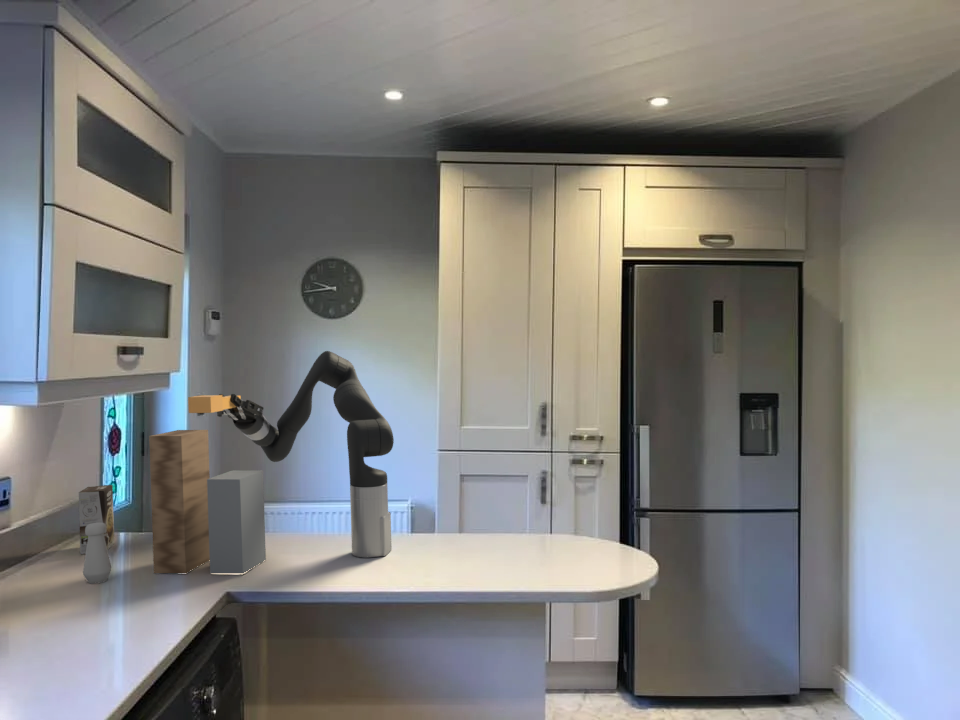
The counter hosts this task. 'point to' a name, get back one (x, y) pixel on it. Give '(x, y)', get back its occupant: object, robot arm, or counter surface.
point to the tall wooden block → (179, 500)
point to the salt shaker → (96, 554)
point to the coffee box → (96, 512)
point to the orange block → (209, 403)
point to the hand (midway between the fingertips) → (225, 397)
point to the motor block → (236, 521)
